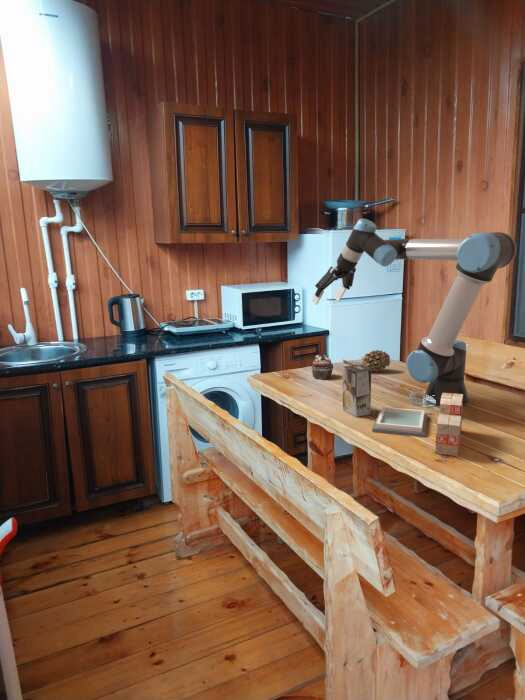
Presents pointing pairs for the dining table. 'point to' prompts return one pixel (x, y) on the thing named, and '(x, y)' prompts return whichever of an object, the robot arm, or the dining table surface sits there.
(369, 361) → the pine cone
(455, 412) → the stack of blocks
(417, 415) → the holder board
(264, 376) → the dining table surface
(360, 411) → the coffee box
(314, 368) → the cupcake
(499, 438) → the dining table surface
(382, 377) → the dining table surface
